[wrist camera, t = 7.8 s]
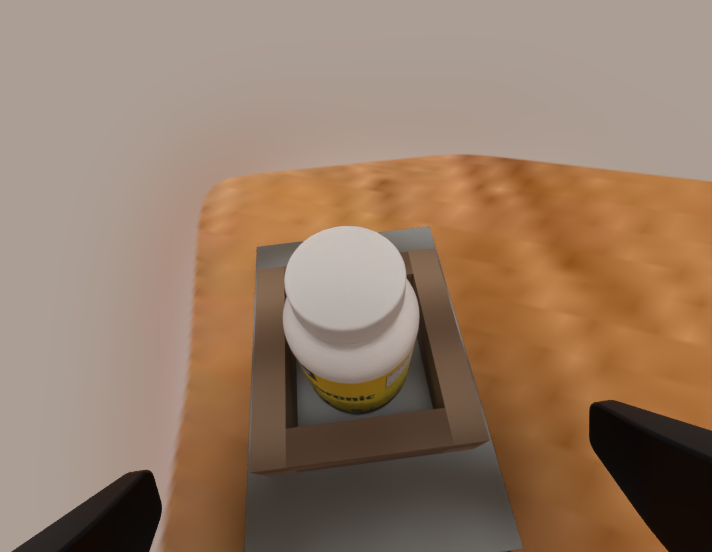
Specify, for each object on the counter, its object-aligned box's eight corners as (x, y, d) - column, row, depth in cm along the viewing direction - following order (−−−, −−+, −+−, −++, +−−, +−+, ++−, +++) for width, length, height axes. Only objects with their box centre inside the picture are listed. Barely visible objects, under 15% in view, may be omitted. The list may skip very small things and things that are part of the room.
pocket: (517, 546, 16) (552, 558, 13) (248, 584, 16) (215, 605, 12) (427, 233, 26) (435, 195, 22) (260, 253, 25) (243, 217, 22)
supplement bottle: (289, 380, 20) (225, 293, 11) (345, 305, 22) (326, 187, 14) (373, 439, 18) (371, 388, 10) (425, 351, 20) (458, 247, 12)
